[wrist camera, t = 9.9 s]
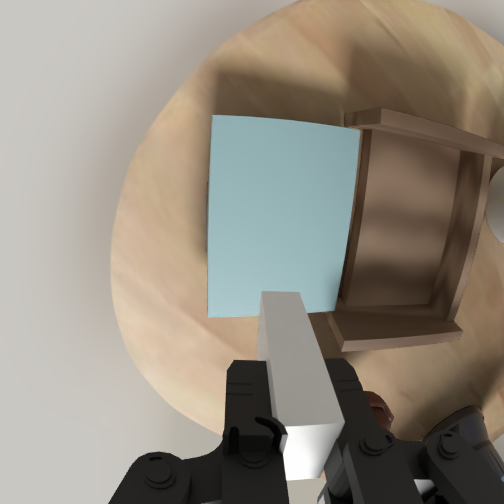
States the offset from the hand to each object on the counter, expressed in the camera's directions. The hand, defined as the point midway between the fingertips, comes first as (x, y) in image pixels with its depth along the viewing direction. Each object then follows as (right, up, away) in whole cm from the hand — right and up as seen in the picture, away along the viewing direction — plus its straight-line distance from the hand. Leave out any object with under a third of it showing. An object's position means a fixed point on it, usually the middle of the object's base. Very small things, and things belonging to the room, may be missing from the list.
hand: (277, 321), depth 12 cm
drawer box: (+14, +6, +17) cm, 23 cm away
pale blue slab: (+7, +6, +15) cm, 18 cm away
